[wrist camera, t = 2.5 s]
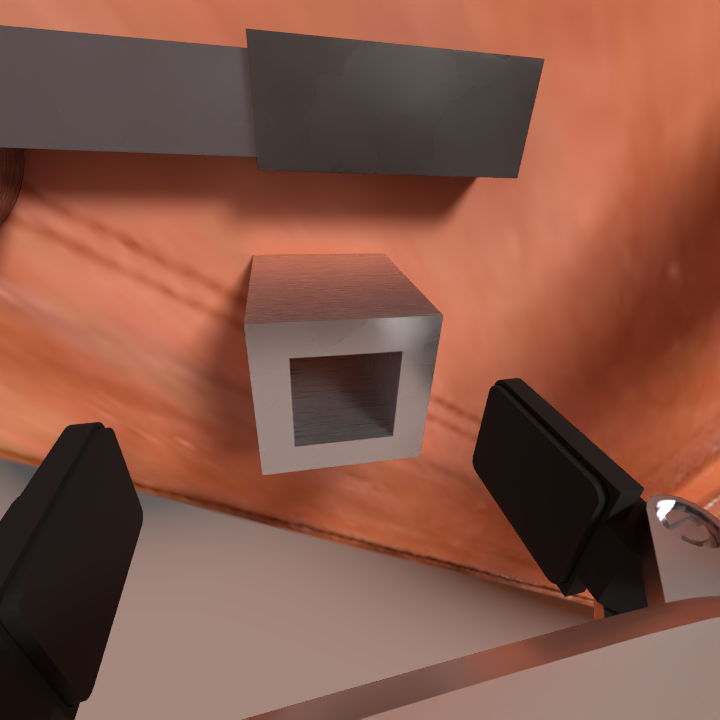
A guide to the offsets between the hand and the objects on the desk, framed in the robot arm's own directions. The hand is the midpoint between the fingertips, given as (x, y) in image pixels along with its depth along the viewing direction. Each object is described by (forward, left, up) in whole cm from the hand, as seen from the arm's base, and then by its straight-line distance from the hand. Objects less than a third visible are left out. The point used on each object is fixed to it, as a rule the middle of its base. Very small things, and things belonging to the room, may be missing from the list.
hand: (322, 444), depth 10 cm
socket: (-1, 0, -7) cm, 7 cm away
